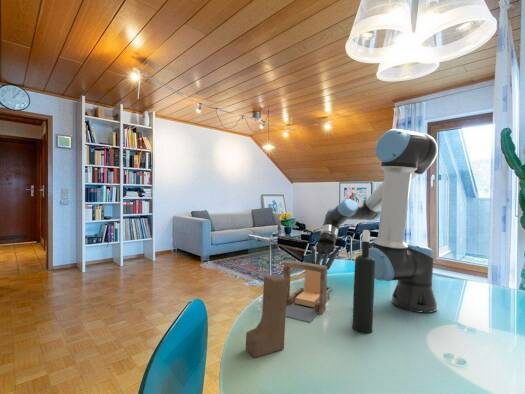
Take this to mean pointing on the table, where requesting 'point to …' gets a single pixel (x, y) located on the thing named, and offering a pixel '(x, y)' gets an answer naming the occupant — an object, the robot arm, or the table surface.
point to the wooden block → (270, 319)
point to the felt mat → (300, 313)
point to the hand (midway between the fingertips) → (315, 281)
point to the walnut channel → (324, 296)
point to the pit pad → (328, 289)
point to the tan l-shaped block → (310, 289)
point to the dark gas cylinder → (363, 288)
